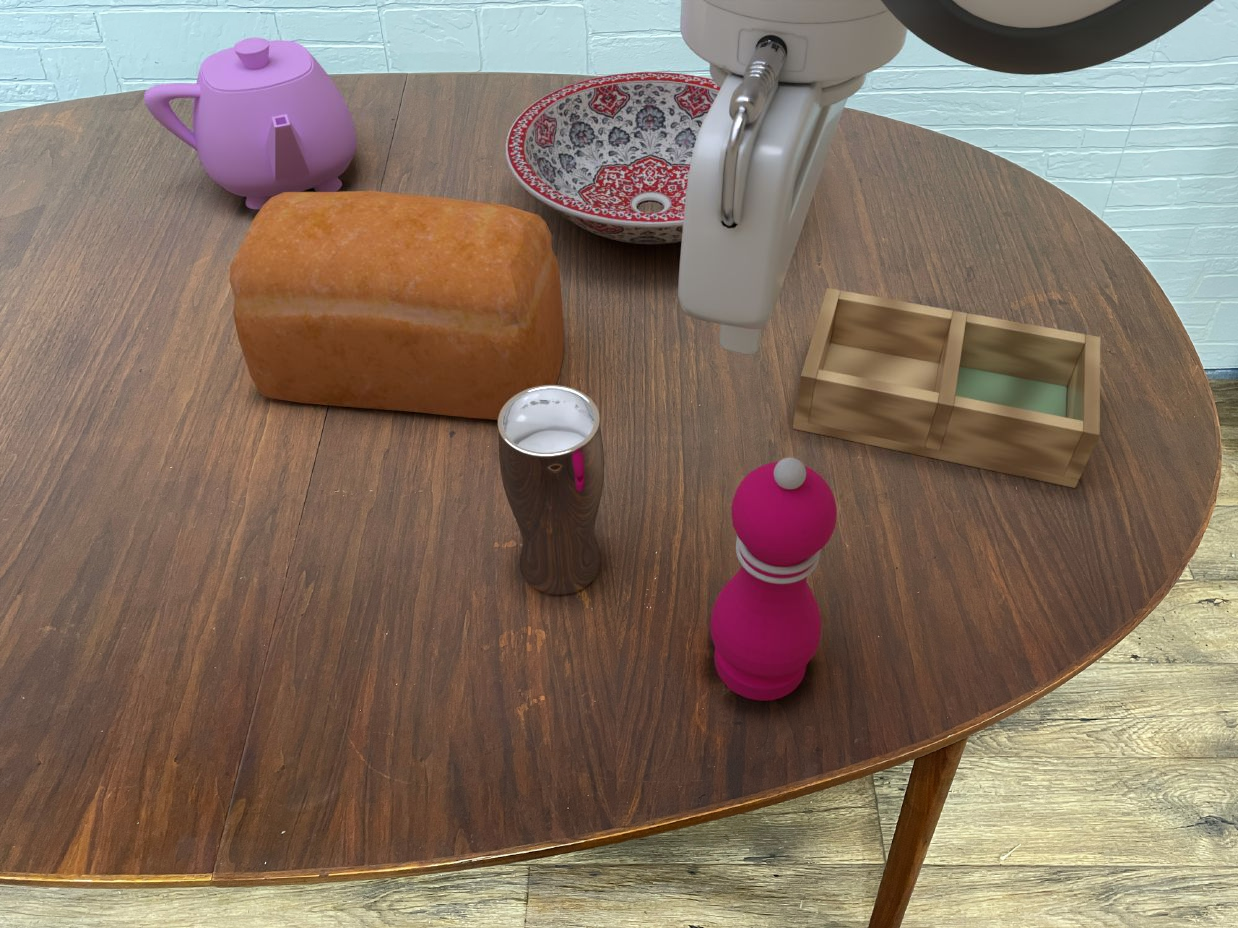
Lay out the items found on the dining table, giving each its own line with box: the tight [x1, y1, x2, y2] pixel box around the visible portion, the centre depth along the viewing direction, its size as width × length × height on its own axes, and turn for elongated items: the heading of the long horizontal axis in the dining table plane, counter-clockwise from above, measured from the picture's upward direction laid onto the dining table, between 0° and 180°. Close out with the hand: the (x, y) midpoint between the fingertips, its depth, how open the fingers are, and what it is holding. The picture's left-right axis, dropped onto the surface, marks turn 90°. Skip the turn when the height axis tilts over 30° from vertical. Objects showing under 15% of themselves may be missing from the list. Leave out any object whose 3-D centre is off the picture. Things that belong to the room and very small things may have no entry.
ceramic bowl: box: [504, 71, 721, 245], centre depth 107 cm, size 29×29×8 cm
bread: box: [229, 190, 565, 421], centre depth 87 cm, size 14×26×16 cm, turn 82°
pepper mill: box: [709, 456, 838, 702], centre depth 64 cm, size 7×7×20 cm
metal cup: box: [497, 384, 605, 596], centre depth 72 cm, size 7×7×15 cm
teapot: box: [143, 37, 358, 210], centre depth 108 cm, size 20×20×15 cm
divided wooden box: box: [792, 287, 1101, 489], centre depth 86 cm, size 23×12×6 cm, turn 72°
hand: (763, 282), depth 50 cm, fingers open, 8 cm apart
